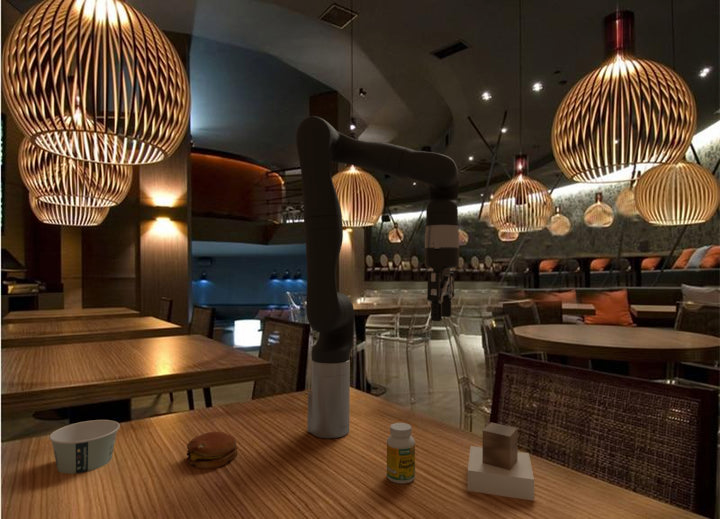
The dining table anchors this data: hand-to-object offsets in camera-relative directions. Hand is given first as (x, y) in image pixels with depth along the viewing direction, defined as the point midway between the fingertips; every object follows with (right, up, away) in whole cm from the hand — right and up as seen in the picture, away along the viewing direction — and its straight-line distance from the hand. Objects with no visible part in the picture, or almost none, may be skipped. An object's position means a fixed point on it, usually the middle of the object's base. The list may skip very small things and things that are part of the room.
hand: (441, 318), depth 97 cm
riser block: (+8, -28, -16) cm, 34 cm away
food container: (-73, -28, -10) cm, 79 cm away
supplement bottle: (-11, -28, -15) cm, 34 cm away
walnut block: (+8, -24, -16) cm, 30 cm away
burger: (-49, -28, -8) cm, 57 cm away
